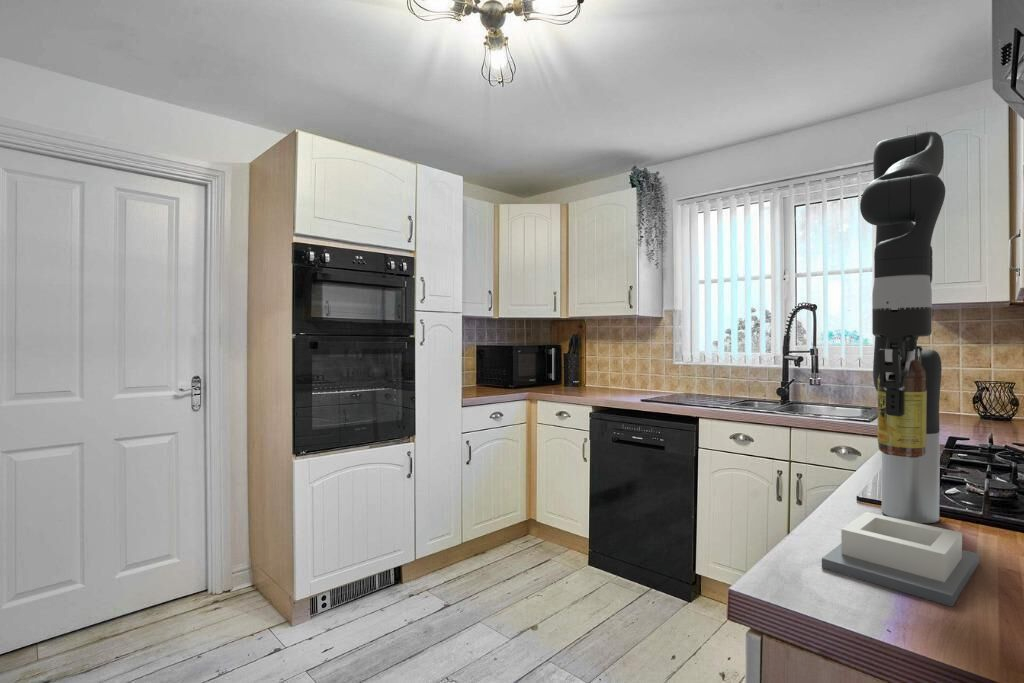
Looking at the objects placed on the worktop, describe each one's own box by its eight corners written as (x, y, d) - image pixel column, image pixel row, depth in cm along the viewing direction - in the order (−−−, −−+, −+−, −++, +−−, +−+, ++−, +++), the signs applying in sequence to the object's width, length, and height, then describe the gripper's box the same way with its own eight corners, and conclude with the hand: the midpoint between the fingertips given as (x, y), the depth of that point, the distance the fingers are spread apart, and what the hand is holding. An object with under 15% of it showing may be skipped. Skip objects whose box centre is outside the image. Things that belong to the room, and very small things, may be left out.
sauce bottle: (879, 448, 89) (879, 328, 88) (927, 453, 85) (927, 328, 84) (875, 455, 83) (875, 328, 83) (925, 461, 80) (926, 328, 79)
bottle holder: (863, 534, 97) (863, 504, 97) (979, 563, 85) (979, 528, 85) (821, 567, 84) (821, 532, 84) (952, 606, 72) (952, 566, 71)
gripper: (886, 307, 91) (886, 405, 91) (858, 306, 82) (858, 415, 82) (942, 305, 85) (941, 410, 86) (918, 304, 76) (918, 421, 76)
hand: (901, 412), depth 84 cm, fingers closed on sauce bottle, 6 cm apart
